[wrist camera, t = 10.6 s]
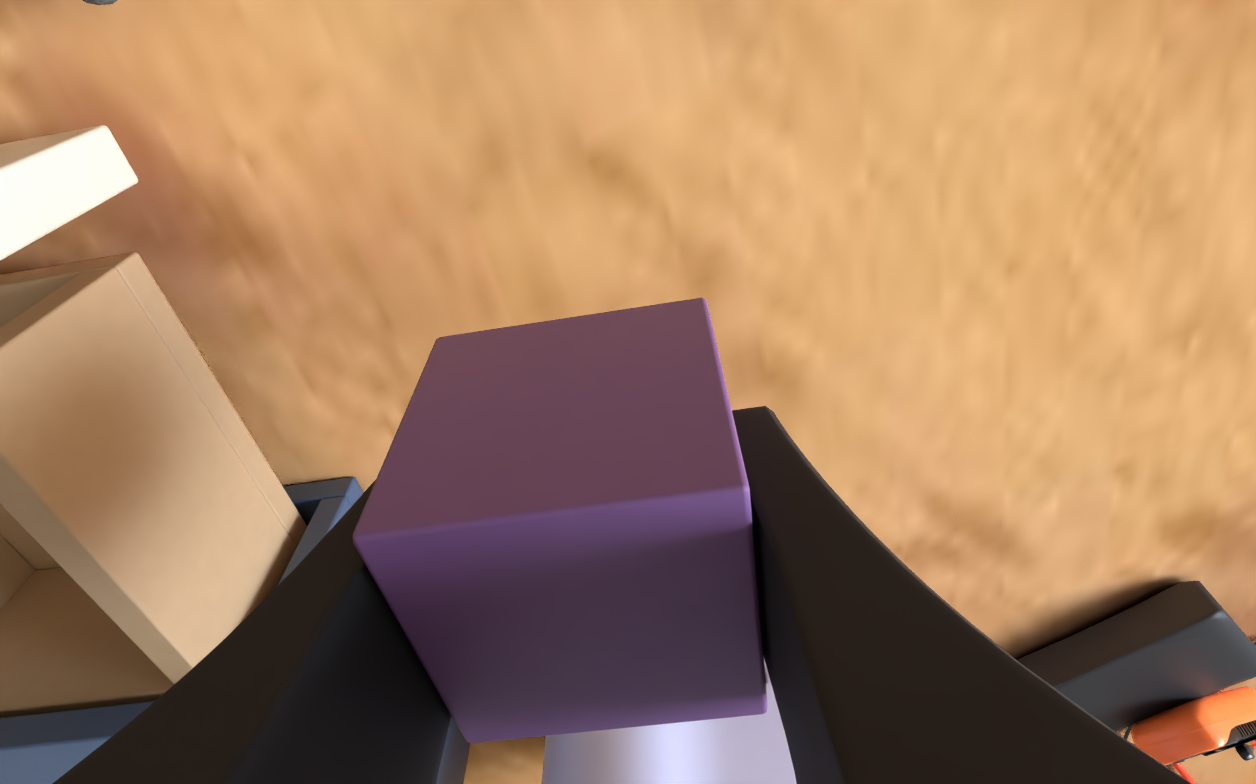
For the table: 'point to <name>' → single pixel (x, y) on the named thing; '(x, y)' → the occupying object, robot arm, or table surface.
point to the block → (573, 527)
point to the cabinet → (57, 741)
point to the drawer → (114, 462)
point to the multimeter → (1162, 675)
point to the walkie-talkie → (100, 2)
